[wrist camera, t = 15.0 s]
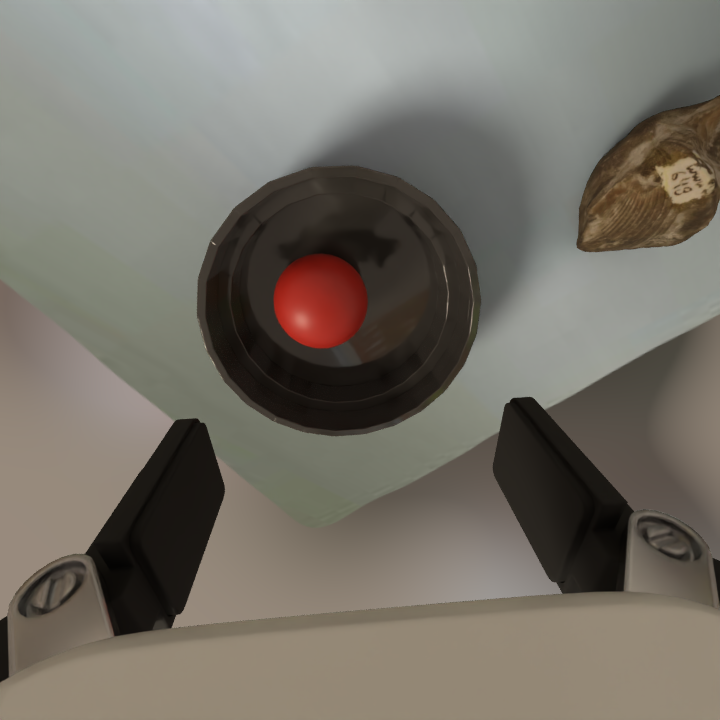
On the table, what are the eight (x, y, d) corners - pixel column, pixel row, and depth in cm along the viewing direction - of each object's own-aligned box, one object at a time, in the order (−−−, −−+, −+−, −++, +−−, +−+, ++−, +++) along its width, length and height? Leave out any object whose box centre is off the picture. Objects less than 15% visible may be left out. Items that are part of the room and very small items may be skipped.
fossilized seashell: (743, 47, 19) (549, 148, 22) (854, 105, 15) (606, 215, 18) (694, 165, 25) (548, 231, 28) (765, 225, 21) (590, 292, 24)
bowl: (463, 165, 22) (499, 160, 17) (443, 387, 30) (464, 427, 25) (197, 175, 22) (158, 172, 17) (247, 401, 29) (230, 444, 24)
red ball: (379, 259, 24) (347, 240, 18) (378, 346, 24) (347, 354, 19) (302, 264, 26) (251, 247, 20) (303, 344, 26) (254, 350, 21)
